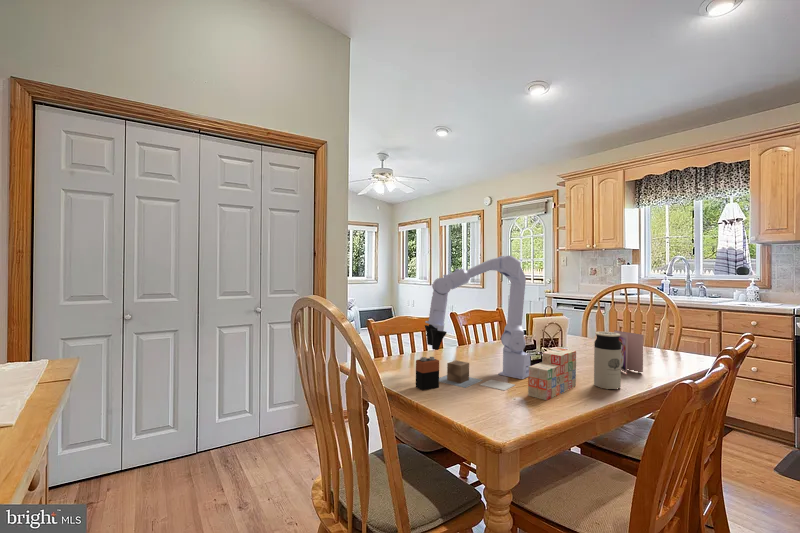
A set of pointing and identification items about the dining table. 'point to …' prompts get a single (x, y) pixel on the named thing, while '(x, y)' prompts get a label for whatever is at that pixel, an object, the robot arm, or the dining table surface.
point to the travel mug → (607, 360)
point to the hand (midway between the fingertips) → (432, 347)
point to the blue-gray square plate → (464, 384)
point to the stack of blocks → (552, 374)
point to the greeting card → (631, 351)
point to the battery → (427, 373)
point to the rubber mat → (497, 385)
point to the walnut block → (458, 371)
